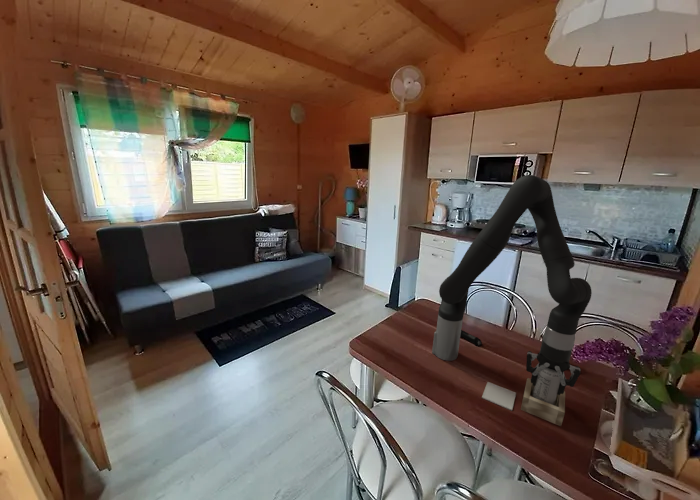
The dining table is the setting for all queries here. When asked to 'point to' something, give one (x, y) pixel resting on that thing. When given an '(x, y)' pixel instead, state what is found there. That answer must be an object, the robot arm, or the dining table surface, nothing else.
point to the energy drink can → (547, 386)
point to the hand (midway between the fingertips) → (545, 388)
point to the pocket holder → (543, 406)
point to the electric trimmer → (471, 338)
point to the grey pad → (499, 395)
